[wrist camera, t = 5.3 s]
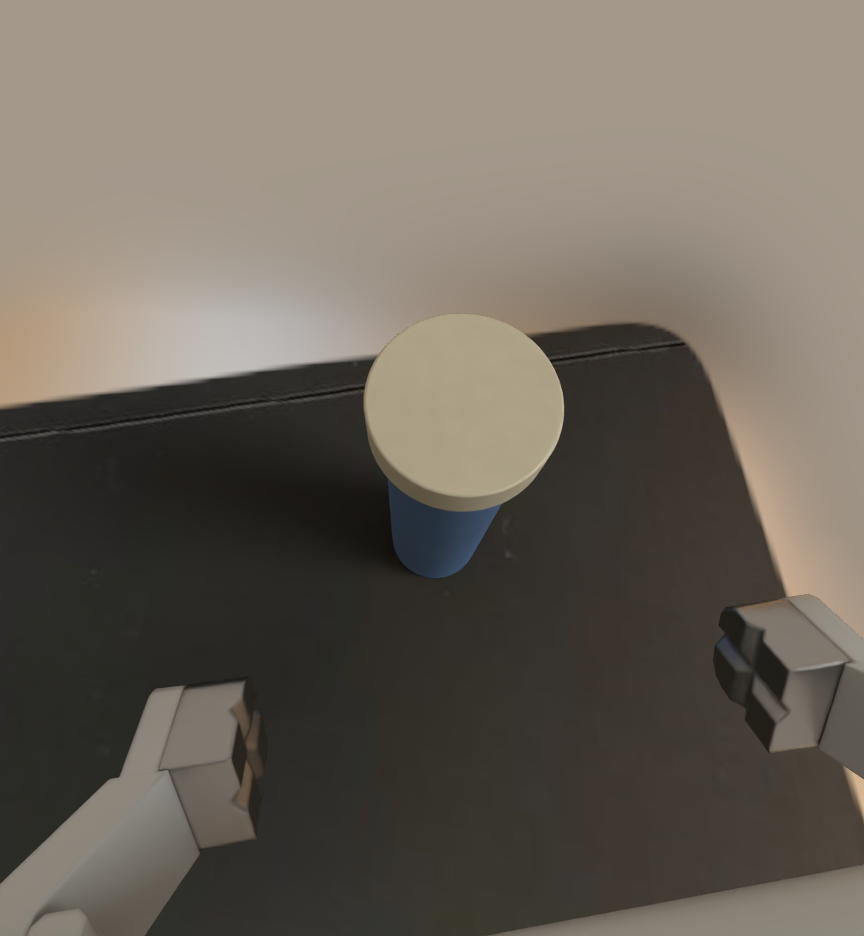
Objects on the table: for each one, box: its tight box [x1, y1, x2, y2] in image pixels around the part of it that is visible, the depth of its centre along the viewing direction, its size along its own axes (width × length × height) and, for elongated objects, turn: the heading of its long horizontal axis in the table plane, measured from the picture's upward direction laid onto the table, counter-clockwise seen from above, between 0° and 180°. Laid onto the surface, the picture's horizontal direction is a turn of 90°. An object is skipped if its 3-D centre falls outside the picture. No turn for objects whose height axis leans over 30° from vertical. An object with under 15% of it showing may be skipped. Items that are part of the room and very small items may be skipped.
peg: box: [364, 314, 564, 578], centre depth 15 cm, size 3×3×11 cm
